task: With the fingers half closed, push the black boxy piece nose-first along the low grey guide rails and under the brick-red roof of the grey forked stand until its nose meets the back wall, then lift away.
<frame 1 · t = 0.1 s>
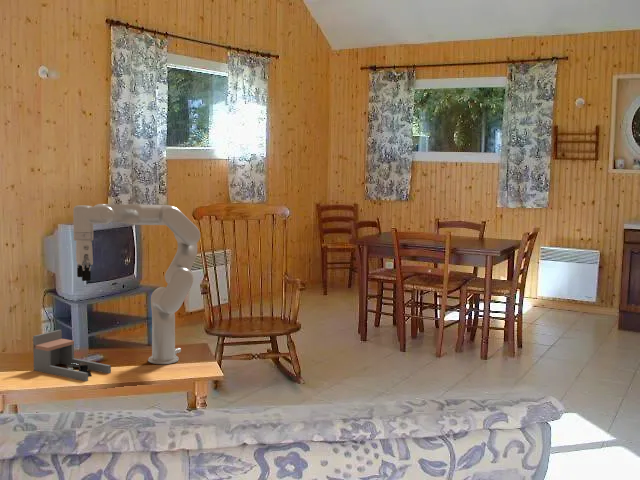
hand: (83, 278, 298), 37 cm above the table, tool pointing down, fingers open, 9 cm apart
grey forked stand: (56, 368, 302), on the table
black boxy piece: (83, 375, 296), on the table
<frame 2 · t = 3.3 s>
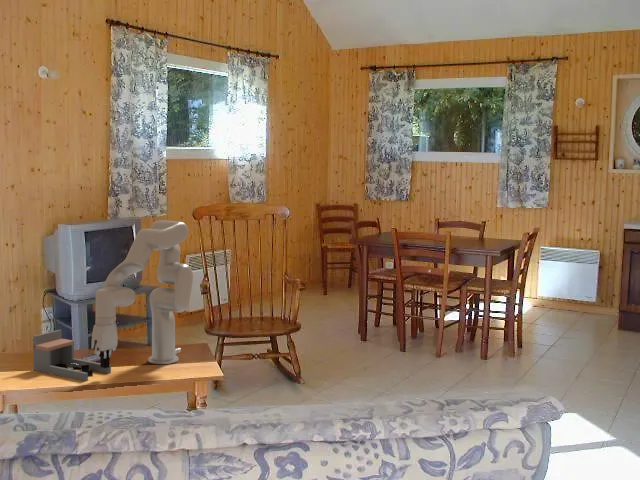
hand: (104, 367, 289), 5 cm above the table, tool pointing down, fingers closed
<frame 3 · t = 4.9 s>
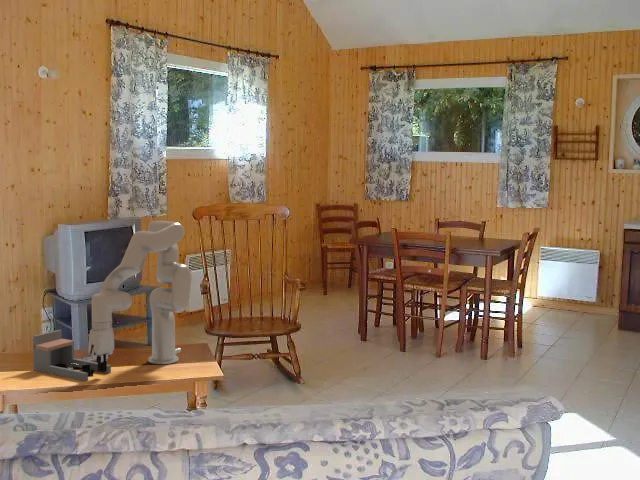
hand: (102, 371, 291), 3 cm above the table, tool pointing down, fingers closed
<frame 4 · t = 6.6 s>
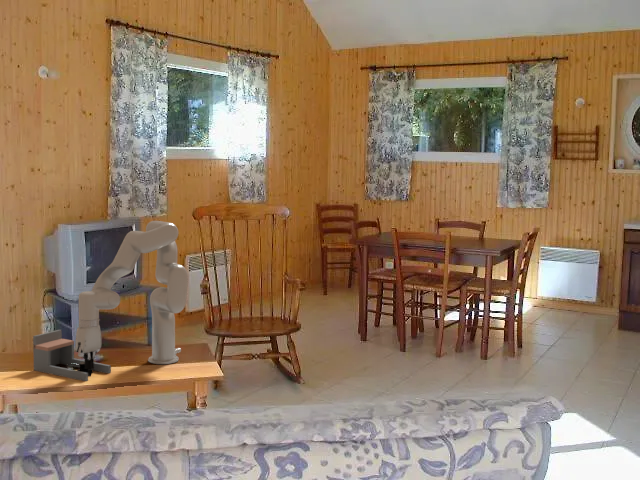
hand: (89, 368, 294), 3 cm above the table, tool pointing down, fingers closed
black boxy piece: (84, 374, 297), on the table, touching gripper
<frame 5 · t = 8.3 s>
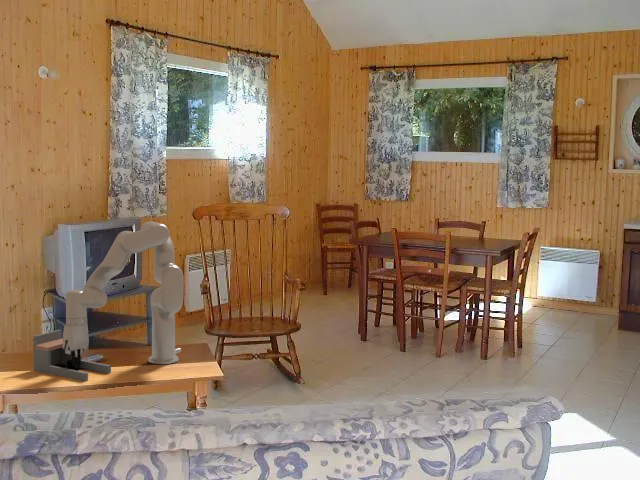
hand: (76, 365, 297), 3 cm above the table, tool pointing down, fingers closed
black boxy piece: (71, 372, 299), on the table, touching gripper
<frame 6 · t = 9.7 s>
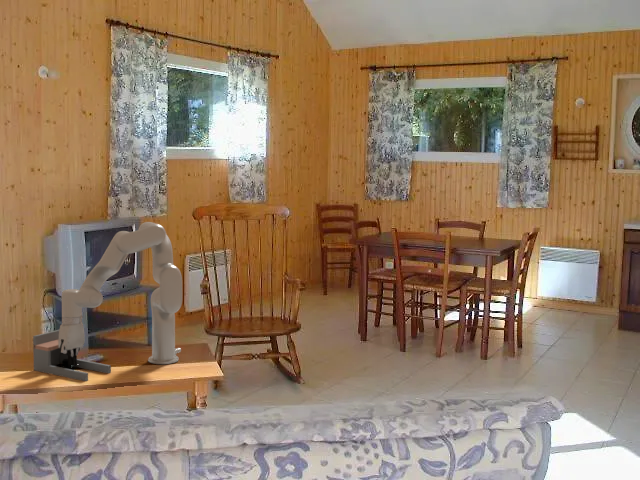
hand: (72, 365, 298), 3 cm above the table, tool pointing down, fingers closed
black boxy piece: (66, 371, 301), on the table
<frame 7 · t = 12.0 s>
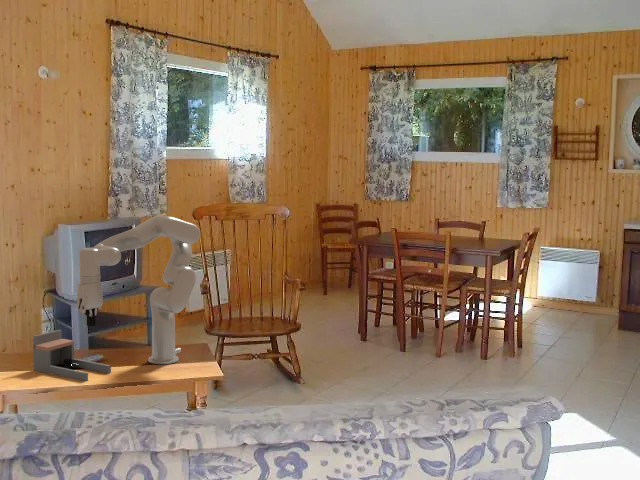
hand: (91, 325, 292), 20 cm above the table, tool pointing down, fingers closed
nothing on the table moved.
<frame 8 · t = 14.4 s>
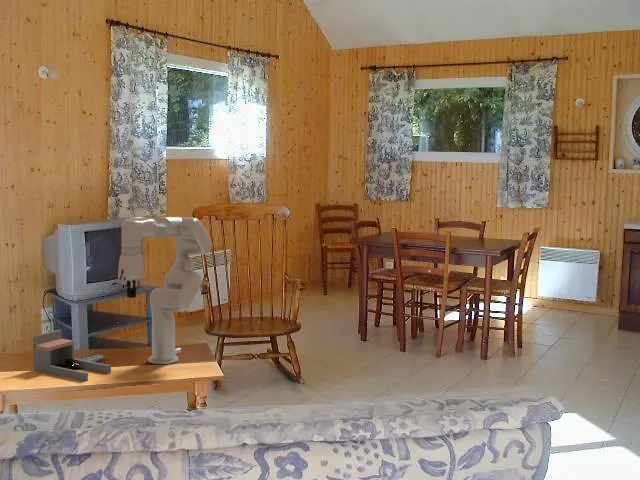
hand: (131, 297, 294), 31 cm above the table, tool pointing down, fingers closed
nothing on the table moved.
at the end: black boxy piece 3.6 cm from the target spot, on the table; black boxy piece tilted 0°; black boxy piece moved 9.0 cm from its start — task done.
